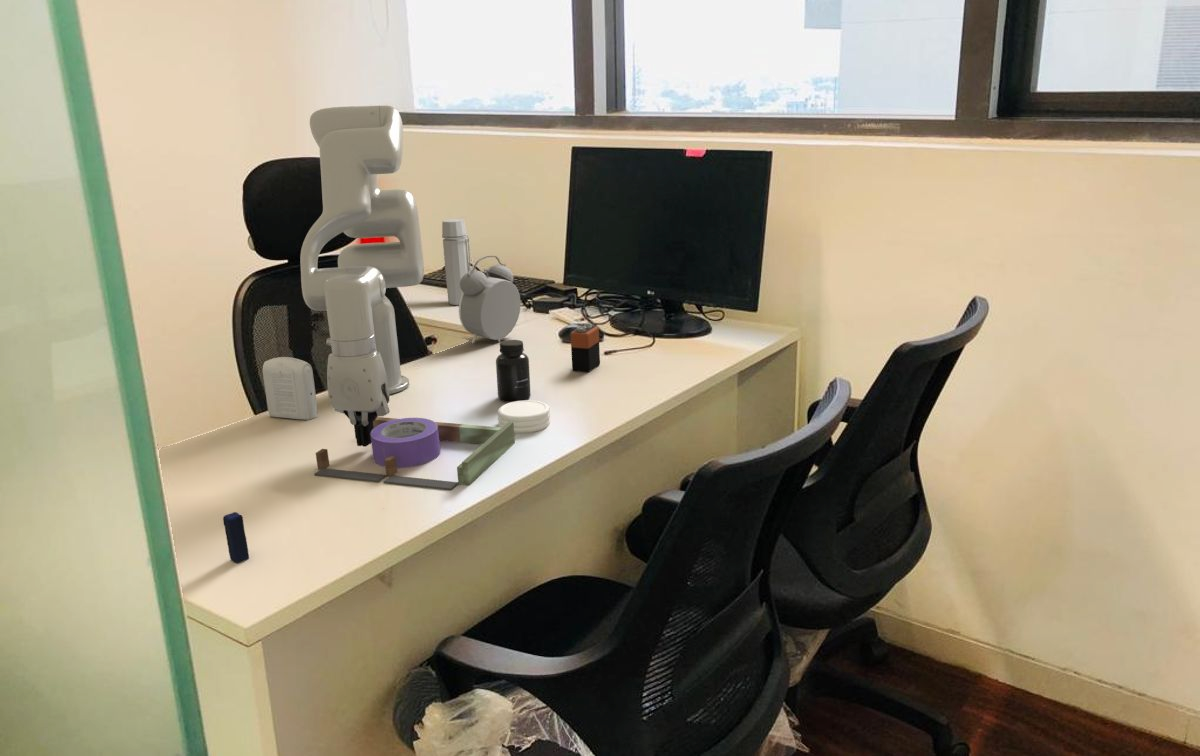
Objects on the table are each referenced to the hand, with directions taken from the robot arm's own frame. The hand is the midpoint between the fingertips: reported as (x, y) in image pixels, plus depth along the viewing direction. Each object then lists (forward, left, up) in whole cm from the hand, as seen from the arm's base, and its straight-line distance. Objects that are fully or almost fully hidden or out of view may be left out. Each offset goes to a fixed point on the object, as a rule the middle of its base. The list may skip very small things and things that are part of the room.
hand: (365, 443), depth 166 cm
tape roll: (+8, 0, -2) cm, 8 cm away
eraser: (+4, -40, -2) cm, 40 cm away
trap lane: (+10, 0, -1) cm, 10 cm away
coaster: (+23, +19, -2) cm, 30 cm away
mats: (+10, -11, -1) cm, 15 cm away
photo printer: (-25, +13, -2) cm, 28 cm away
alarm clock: (-8, +74, -2) cm, 74 cm away
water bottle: (-35, +111, -2) cm, 117 cm away
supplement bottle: (+15, +33, -2) cm, 36 cm away
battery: (+23, +56, -2) cm, 61 cm away
